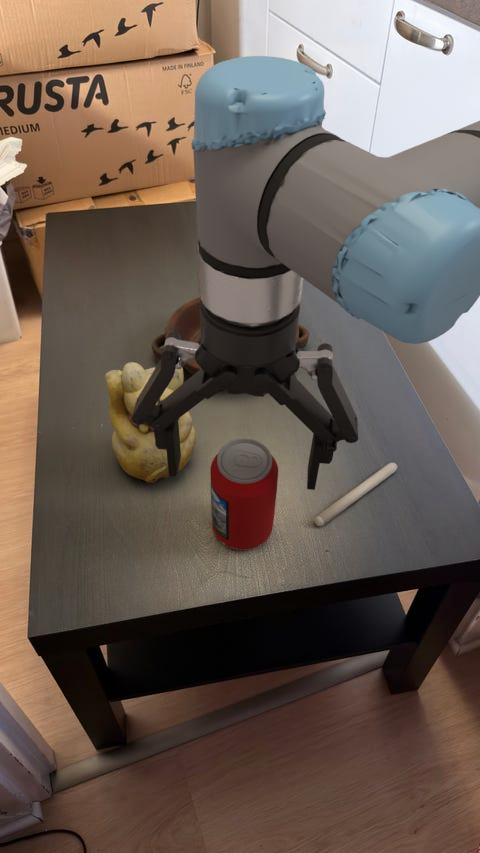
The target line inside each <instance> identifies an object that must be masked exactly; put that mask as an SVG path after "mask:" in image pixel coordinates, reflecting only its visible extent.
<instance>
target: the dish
mask: <svg viewBox="0 0 480 853" xmlns="http://www.w3.org/2000/svg"><path fill="white" fill-rule="evenodd" d="M171 331H174V332H177V333H179V334H180V336H181V340H183V341H189V342H195V343H198V342H199V341H200V339H201V334H200V296H198V297H196V298H193V299H191V300H188V301H187V302H185V303H184V304H182V305H180V306H179V307H178V308H177V309H175V311H174V312H172V314H171V315H170V317H169V319H168V320H167V324H166V327H165V331H164V332H163V333H161V334H159V335H158V336H156V337H155V338H153V339H152V342H151V350H152V354H153V355H154V357H155V358H156V359H157V360H159V361H160V360H161V355H162V351H163V349H161V347H164V344H165V340H166V336H167V334H168V333H169V332H171ZM309 337H310V332H309V330H308V329H307V328H306V327H305V326H303V325H301V324H298V329H297V338H296V346H297V348H298V349H299V350H301V349H303V348H304V347H306V346H307V344H308V342H309ZM182 367H183V369H185V371H187V372H188V373H189V374H190V375H192V376H193V375H194V374H196V373H197V372H198V371H199V370H200V368H201V367H200V366H199V365H198V364H197V362H196V360H195V359H190V360H188V361H187V363H186V365H184V366H182Z"/></svg>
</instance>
